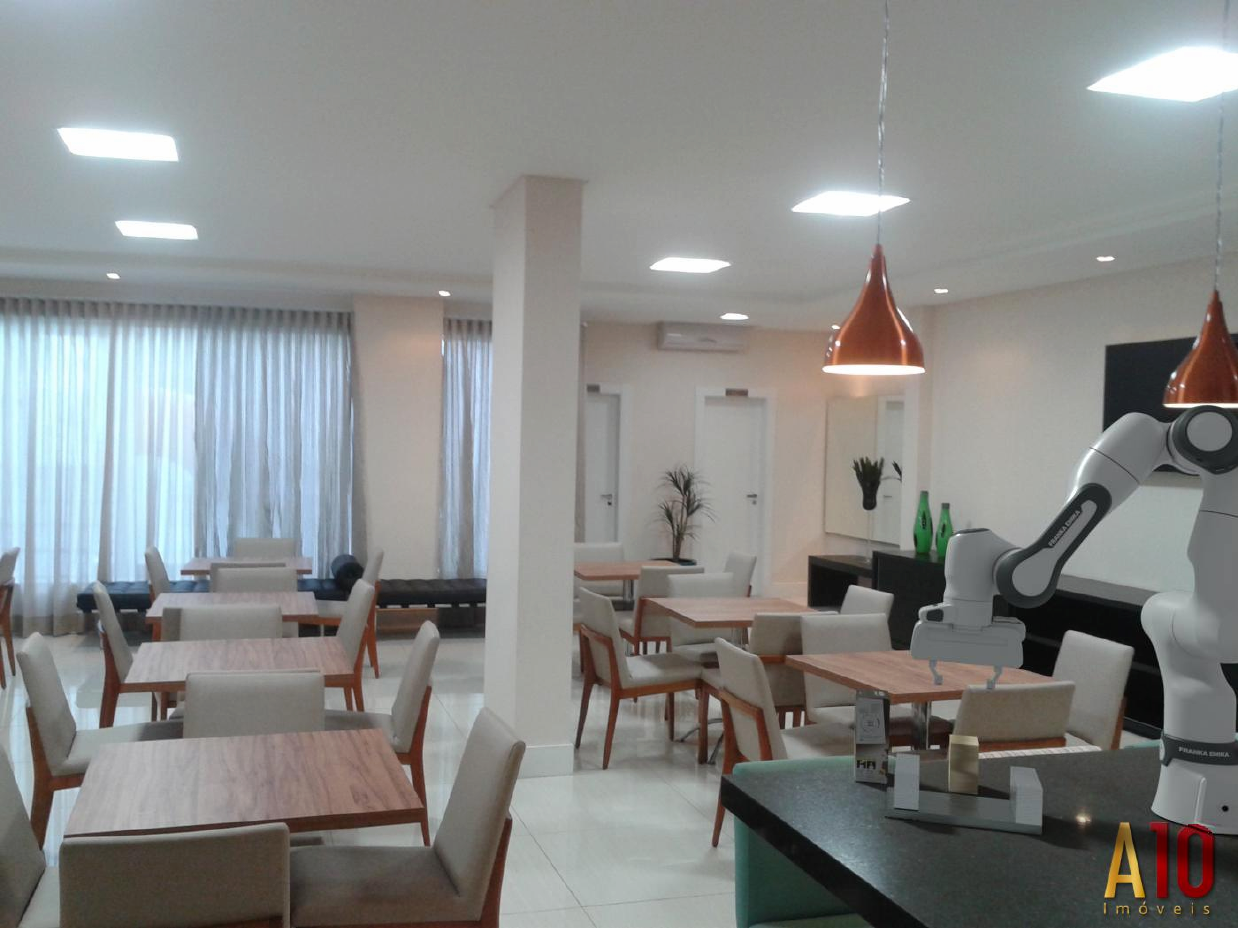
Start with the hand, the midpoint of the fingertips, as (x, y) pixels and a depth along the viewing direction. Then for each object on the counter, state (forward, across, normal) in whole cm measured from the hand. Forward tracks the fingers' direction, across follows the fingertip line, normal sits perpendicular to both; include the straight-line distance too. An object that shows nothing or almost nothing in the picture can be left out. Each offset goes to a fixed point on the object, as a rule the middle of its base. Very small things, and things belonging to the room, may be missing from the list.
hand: (964, 687), depth 200 cm
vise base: (+19, 0, +17) cm, 25 cm away
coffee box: (+19, +16, -1) cm, 25 cm away
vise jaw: (+17, +10, +17) cm, 26 cm away
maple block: (+19, 0, 0) cm, 19 cm away
